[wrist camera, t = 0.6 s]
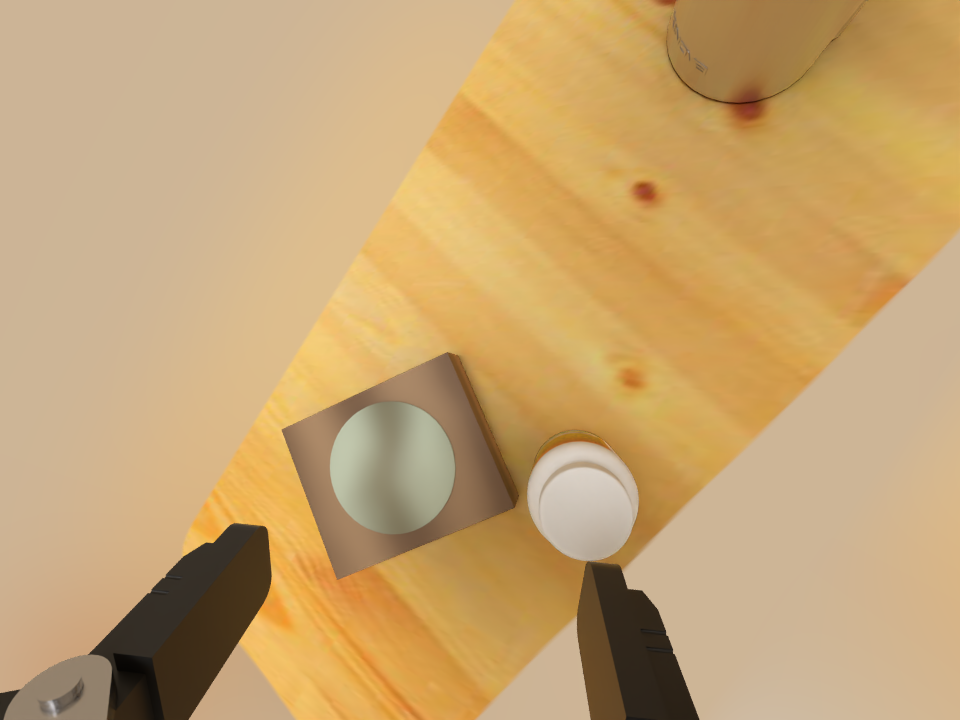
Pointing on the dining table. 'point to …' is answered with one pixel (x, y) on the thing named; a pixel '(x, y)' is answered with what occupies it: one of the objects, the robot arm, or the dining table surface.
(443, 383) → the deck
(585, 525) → the supplement bottle
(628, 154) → the dining table surface
